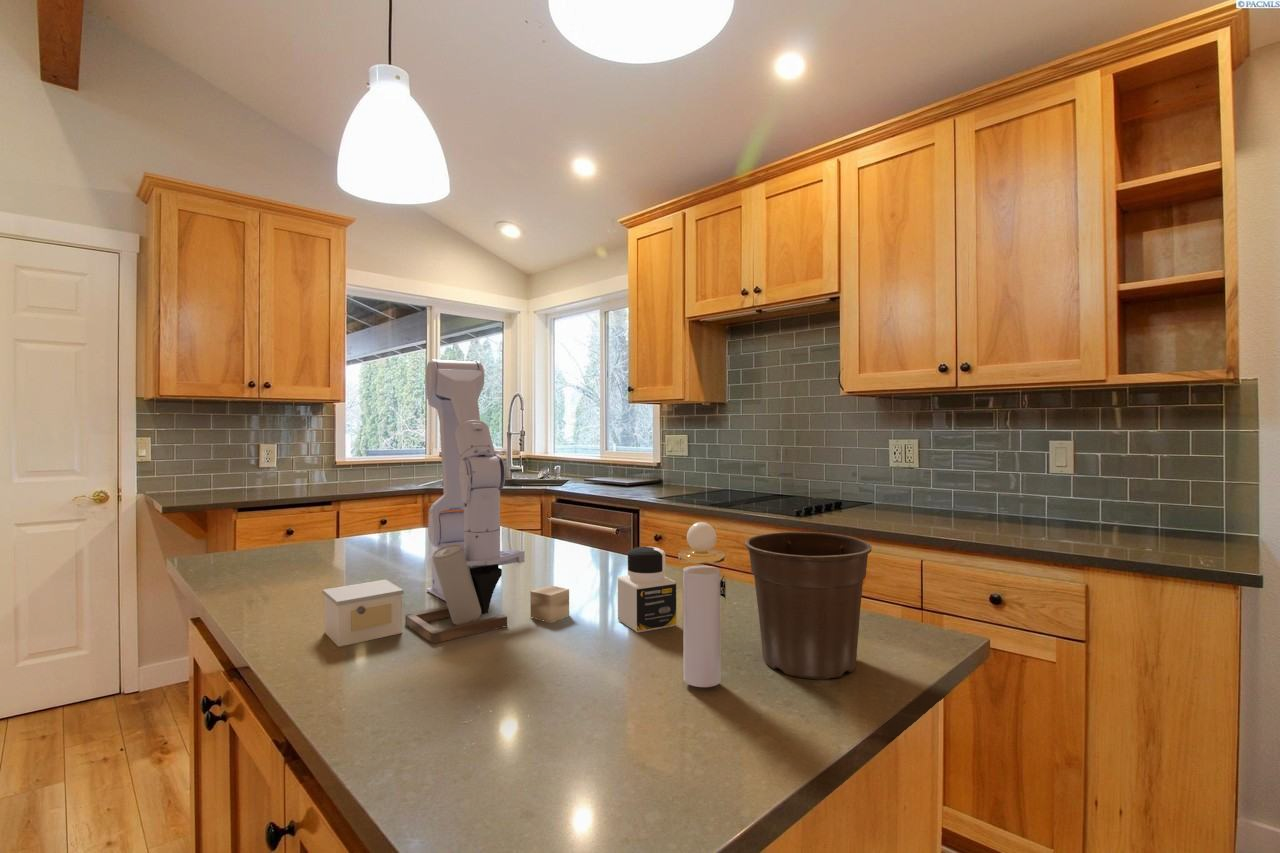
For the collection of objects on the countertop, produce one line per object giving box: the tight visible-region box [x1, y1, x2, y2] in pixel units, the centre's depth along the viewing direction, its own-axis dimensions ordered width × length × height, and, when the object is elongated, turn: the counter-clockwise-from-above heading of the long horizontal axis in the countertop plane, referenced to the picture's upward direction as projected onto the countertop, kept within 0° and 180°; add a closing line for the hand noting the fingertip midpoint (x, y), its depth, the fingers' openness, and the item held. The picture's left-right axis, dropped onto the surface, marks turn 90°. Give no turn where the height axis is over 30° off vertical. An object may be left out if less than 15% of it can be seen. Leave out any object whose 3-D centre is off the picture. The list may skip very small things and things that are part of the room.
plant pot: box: [744, 531, 873, 680], centre depth 82 cm, size 16×16×16 cm
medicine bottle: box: [617, 546, 677, 634], centre depth 98 cm, size 7×7×12 cm
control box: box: [322, 578, 404, 648], centre depth 94 cm, size 9×9×7 cm
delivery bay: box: [404, 605, 508, 645], centre depth 97 cm, size 11×12×2 cm
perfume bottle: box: [677, 521, 726, 688], centre depth 75 cm, size 6×6×20 cm
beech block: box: [529, 585, 570, 623], centre depth 102 cm, size 4×4×4 cm
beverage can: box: [432, 544, 482, 626], centre depth 97 cm, size 5×5×12 cm
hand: (482, 612), depth 100 cm, fingers closed
